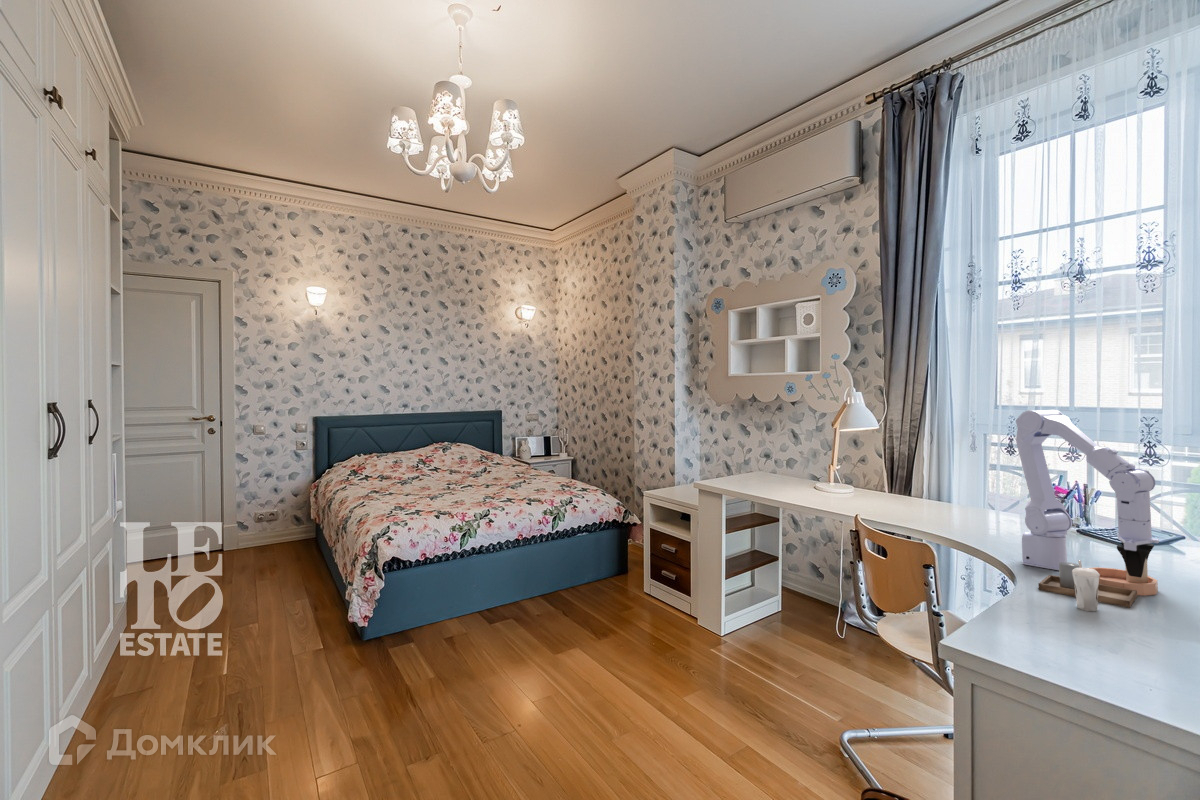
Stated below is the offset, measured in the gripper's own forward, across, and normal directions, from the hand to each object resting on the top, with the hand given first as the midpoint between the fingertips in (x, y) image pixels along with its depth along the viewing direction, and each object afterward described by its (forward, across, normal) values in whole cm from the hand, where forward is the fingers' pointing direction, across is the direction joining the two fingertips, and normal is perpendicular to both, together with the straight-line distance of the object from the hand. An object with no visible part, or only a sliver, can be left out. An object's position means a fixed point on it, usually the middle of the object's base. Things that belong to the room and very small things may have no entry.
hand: (1136, 574), depth 128 cm
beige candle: (+2, 0, 0) cm, 2 cm away
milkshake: (+4, -24, +5) cm, 25 cm away
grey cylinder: (+3, -12, +10) cm, 16 cm away
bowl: (+4, 0, +3) cm, 5 cm away
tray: (+4, -12, +7) cm, 14 cm away
